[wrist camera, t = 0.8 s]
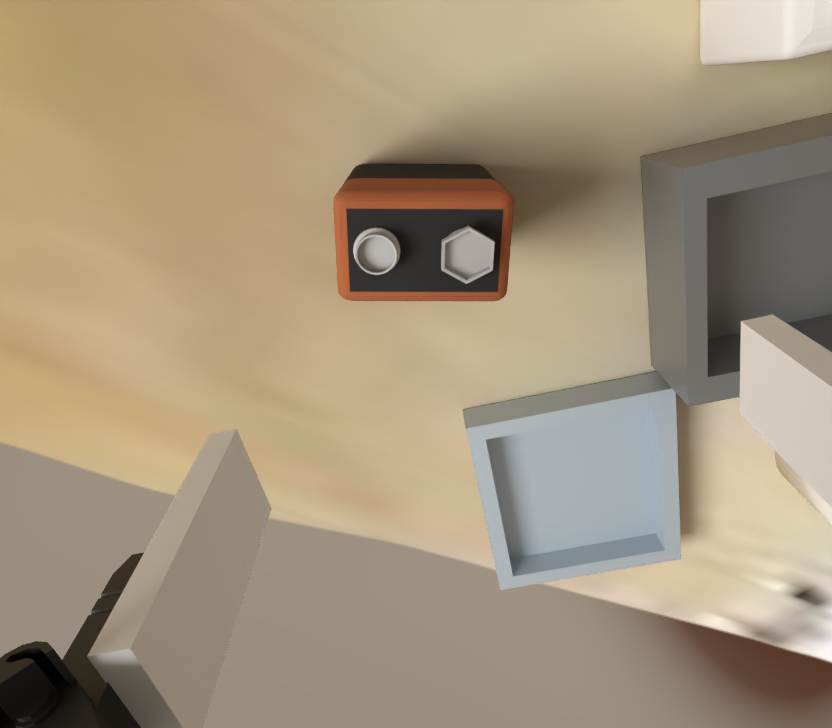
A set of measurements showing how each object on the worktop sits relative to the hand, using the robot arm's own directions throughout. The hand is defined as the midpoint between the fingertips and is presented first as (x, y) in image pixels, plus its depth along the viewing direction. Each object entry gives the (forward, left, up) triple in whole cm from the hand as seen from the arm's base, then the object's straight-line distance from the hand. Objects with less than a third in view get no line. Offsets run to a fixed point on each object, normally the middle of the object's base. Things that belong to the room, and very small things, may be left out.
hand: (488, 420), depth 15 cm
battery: (-3, -1, -18) cm, 18 cm away
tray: (+16, +5, -18) cm, 25 cm away
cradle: (+3, +18, -18) cm, 26 cm away
